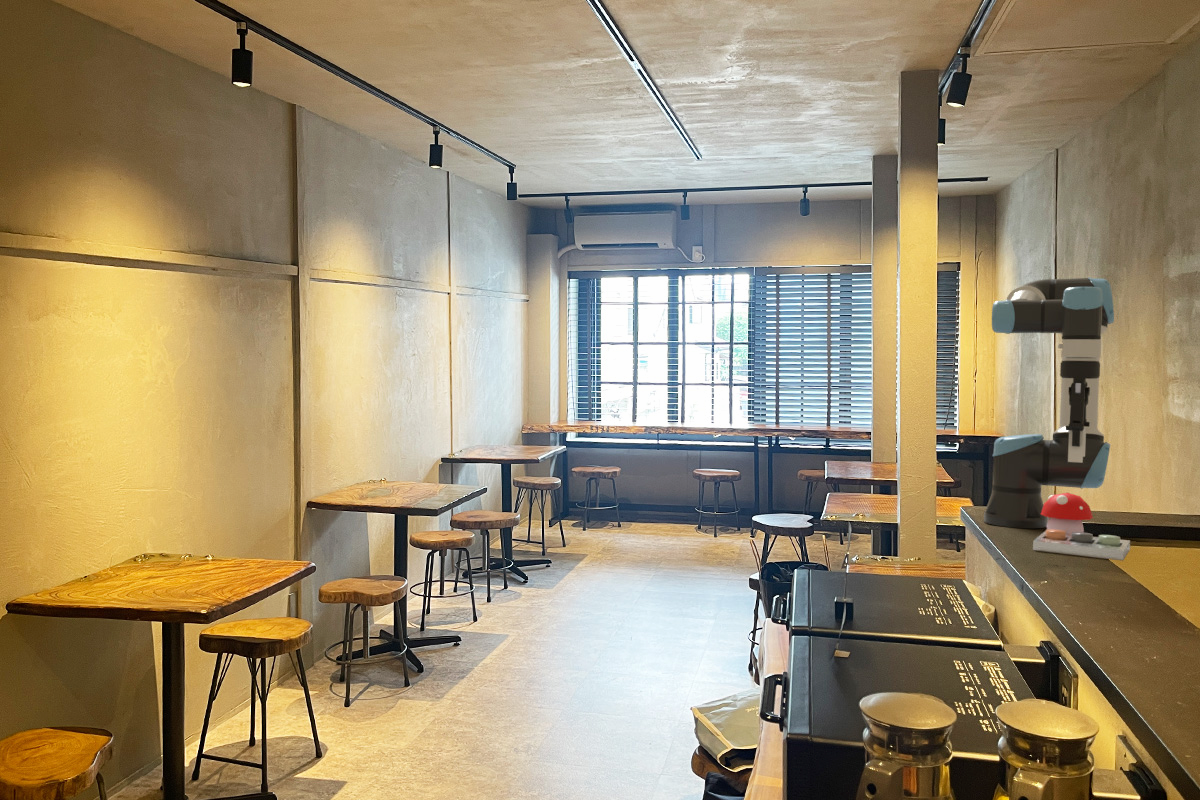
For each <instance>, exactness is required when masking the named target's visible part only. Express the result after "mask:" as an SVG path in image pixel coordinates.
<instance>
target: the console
mask: <svg viewBox="0 0 1200 800" xmlns="http://www.w3.org/2000/svg"><path fill="white" fill-rule="evenodd" d="M1045 535H1046V531H1043V532H1042V533H1041V534H1040V535H1038V536H1037V537H1035V539H1034V540H1033V543H1032V550H1033V551H1036V552H1037V551H1038V552H1046V553H1053V554H1055V553H1056V554H1063V555H1072V556H1081V557H1088V558H1098V559H1107V560H1115V561H1123V562H1124V560H1125V558H1126V557H1127V555H1128V554H1129V552H1130V551H1131V540H1129V539H1128V540H1127V539H1120V547H1119V546H1110V545H1101V544H1099V536H1093V540H1092V544H1091V543H1082V542H1073V541H1072V534H1066V541H1064V540H1055V539H1046V538H1045Z"/></svg>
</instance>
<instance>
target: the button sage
mask: <svg viewBox="0 0 1200 800" xmlns="http://www.w3.org/2000/svg"><path fill="white" fill-rule="evenodd" d="M1098 537H1099V544H1101V545H1110V546H1119V547H1120V540H1121V536H1117V535H1114V534H1113V535H1111V534H1098Z"/></svg>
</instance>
